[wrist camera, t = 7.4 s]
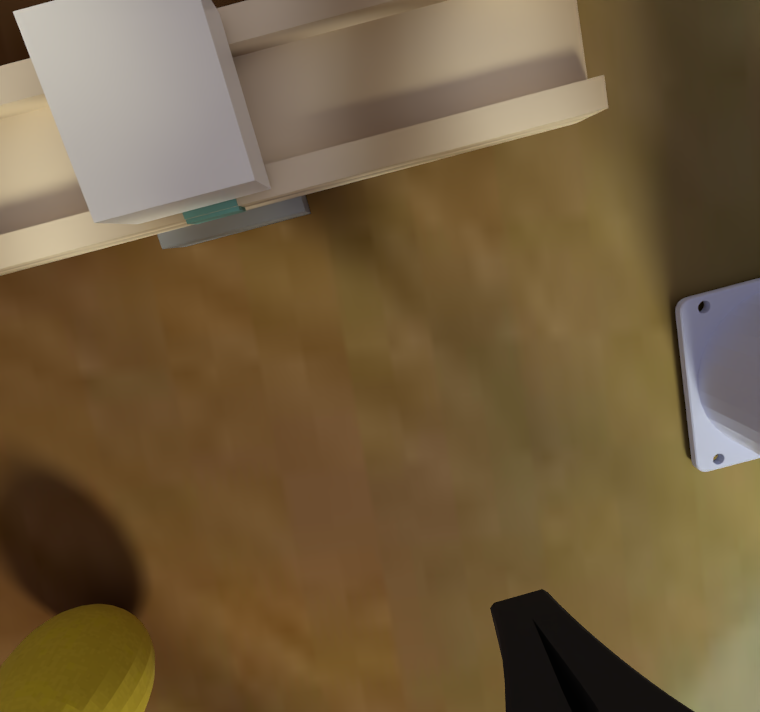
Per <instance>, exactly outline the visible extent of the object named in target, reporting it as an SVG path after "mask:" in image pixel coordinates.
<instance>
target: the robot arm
mask: <svg viewBox="0 0 760 712" xmlns="http://www.w3.org/2000/svg"><path fill="white" fill-rule="evenodd" d="M702 301H703V303H704V307H703V309H702V310H701V311H699V310H698V305H699V304H700V302H702ZM675 314H676V323H677V332H678V342H679V351H680V360H681V369H682V378H683V387H684V396H685V405H686V414H687V423H688V433H689V442H690V451H691V460H692V464H693V465H694V466H695V467H696V468H697V469H699V470H700V471H703V472H707V471H711V470H715V469H719V468H723V467H727V466H731V465H734V464H738V463H742V462H746V461H750V460H754V459H757V458H760V278H757V279H753V280H749V281H746V282H742V283H738V284H734V285H730V286H727V287H723V288H719V289H715V290H711V291H708V292H704V293H700V294H696V295H692V296H689V297H685V298H683V299H681V300H680V301H679V302H678V303H677V306H676V309H675ZM717 454H718V457H717V458H716V459H715V460H713V458H714V456H715V455H717ZM490 609H491V613H492V617H493V622H494V626H495V630H496V634H497V638H498V642H499V647H500V651H501V655H502V659H503V668H504V678H505V700H506V712H694V711H692V710H691V709H689V708H688V707H686V706H685V705H683V704H682V703H680V702H679V701H677V700H676V699H674V698H673V697H671V696H670V695H668V694H667V693H666V692H664V691H663V690H661V689H660V688H658V687H657V686H656V685H654V684H653V683H652V682H650V681H649V680H648V679H646V678H645V677H644V676H642V675H641V674H640V673H638V672H637V671H636V670H634V669H633V668H632V667H630V666H629V665H628V664H627V663H625V662H624V661H623V660H622V659H620V658H619V657H618V656H617V655H615V654H614V653H613V652H612V651H611V650H609V649H608V648H607V647H606V646H605V645H603V644H602V643H601V642H600V641H599V640H598V639H596V638H595V637H594V636H593V635H592V634H591V633H589V632H588V631H587V630H586V629H585V628H584V627H583V626H582V625H581V624H579V623H578V622H577V621H576V620H575V619H574V618H573V617H572V616H571V615H570V614H569V613H568V612H567V611H566V610H565V609H564V608H562V607H561V606H560V605H559V604H558V603H557V602H556V601H555V599H554V598H553V597H552V596H551V595H550V594H549V593H548V592H546V591H545V590H543V589H542V590H538V591H535V592H531V593H527V594H524V595H520V596H517V597H513V598H510V599H506V600H503V601H499V602H496V603H494V604H493V605H492V606H491V608H490Z"/></svg>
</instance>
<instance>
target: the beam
mask: <svg viewBox="0 0 760 712" xmlns="http://www.w3.org/2000/svg"><path fill="white" fill-rule="evenodd" d="M216 9H217V10H218V12H219V14H220V17H221V20H222V24H223V27H224V31H225V34H226V37H227V41H228V44H229V48H230V51H231V54H232V58H233V61H234V64H235V68H236V71H237V75H238V78H239V81H240V85H241V88H242V92H243V95H244V98H245V102H246V105H247V109H248V112H249V115H250V119H251V122H252V126H253V129H254V132H255V136H256V139H257V142H258V146H259V149H260V153H261V156H262V159H263V163H264V166H265V170H266V173H267V176H268V180H269V183H270V187H271V189H269V190H266V191H262V192H258V193H254V194H251V195H247V196H243V197H239V198H235V199H232V200H228V201H224V202H220V203H217V204H213V205H209V206H205V207H201V208H198V209H194V210H190V211H186V212H183V213H179V214H175V215H171V216H167V217H164V218H160V219H156V220H152V221H149V222H145V223H141V224H110V223H94V221H93V219H92V216H91V214H90V211H89V208H88V206H87V203H86V201H85V198H84V196H83V193H82V190H81V188H80V185H79V183H78V180H77V177H76V175H75V172H74V170H73V167H72V164H71V162H70V159H69V157H68V154H67V151H66V149H65V146H64V144H63V141H62V138H61V136H60V133H59V131H58V128H57V125H56V123H55V120H54V118H53V115H52V112H51V110H50V107H49V105H48V102H47V99H46V97H45V94H44V92H43V89H42V86H41V84H40V81H39V79H38V76H37V73H36V71H35V68H34V66H33V63H32V60H31V58H28V59H25V60H21V61H17V62H13V63H10V64H6V65H2V66H0V276H1V275H5V274H9V273H12V272H16V271H20V270H24V269H27V268H31V267H35V266H39V265H43V264H46V263H50V262H54V261H58V260H61V259H65V258H69V257H73V256H77V255H80V254H84V253H88V252H92V251H95V250H99V249H103V248H107V247H111V246H114V245H118V244H122V243H126V242H129V241H133V240H137V239H141V238H145V237H148V236H152V235H156V234H157V235H158V238H159V241H160V244H161V247H162V249H167V248H177V247H186V246H190V245H194V244H198V243H201V242H205V241H209V240H213V239H217V238H220V237H224V236H228V235H232V234H235V233H239V232H243V231H247V230H251V229H254V228H258V227H262V226H266V225H270V224H273V223H277V222H281V221H285V220H288V219H292V218H296V217H300V216H304V215H307V214H311V212H310V209H309V205H308V202H307V198H306V195H307V194H311V193H315V192H318V191H322V190H326V189H330V188H334V187H337V186H341V185H345V184H349V183H352V182H356V181H360V180H364V179H368V178H371V177H375V176H379V175H383V174H386V173H390V172H394V171H398V170H402V169H405V168H409V167H413V166H417V165H420V164H424V163H428V162H432V161H436V160H439V159H443V158H447V157H451V156H454V155H458V154H462V153H466V152H470V151H473V150H477V149H481V148H485V147H488V146H492V145H496V144H500V143H504V142H507V141H511V140H515V139H519V138H522V137H526V136H530V135H534V134H538V133H541V132H545V131H549V130H553V129H556V128H560V127H564V126H568V125H572V124H575V123H578V122H580V121H582V120H584V119H586V118H588V117H590V116H592V115H594V114H597V113H599V112H601V111H603V110H605V109H607V108H608V101H607V94H606V86H605V78H604V75H602V76H598V77H594V78H590V79H587V72H586V65H585V57H584V50H583V43H582V36H581V28H580V21H579V14H578V7H577V0H246V1H242V2H239V3H235V4H231V5H227V6H224V7H220V8H216Z"/></svg>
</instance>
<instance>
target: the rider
mask: <svg viewBox="0 0 760 712" xmlns="http://www.w3.org/2000/svg"><path fill="white" fill-rule="evenodd" d="M13 14H14V16H15V19H16V21H17V24H18V27H19V29H20V32H21V34H22V37H23V40H24V42H25V45H26V47H27V50H28V53H29V55H30V58H31V60H32V63H33V66H34V68H35V71H36V73H37V76H38V79H39V81H40V84H41V86H42V89H43V92H44V94H45V97H46V99H47V102H48V105H49V107H50V110H51V112H52V115H53V118H54V120H55V123H56V125H57V128H58V131H59V133H60V136H61V138H62V141H63V144H64V146H65V149H66V151H67V154H68V157H69V159H70V162H71V164H72V167H73V170H74V172H75V175H76V177H77V180H78V183H79V185H80V188H81V190H82V193H83V196H84V198H85V201H86V203H87V206H88V208H89V211H90V214H91V216H92V219H93V221H94V223H110V224H141V223H145V222H149V221H152V220H156V219H160V218H164V217H167V216H171V215H175V214H179V213H183V212H186V211H190V210H194V209H198V208H201V207H205V206H209V205H213V204H217V203H220V202H224V201H228V200H232V199H235V198H239V197H243V196H247V195H251V194H254V193H258V192H262V191H266V190H269V189H271V187H270V183H269V180H268V176H267V173H266V170H265V166H264V163H263V159H262V156H261V153H260V149H259V146H258V142H257V139H256V136H255V132H254V129H253V126H252V122H251V119H250V115H249V112H248V109H247V105H246V102H245V98H244V95H243V92H242V88H241V85H240V81H239V78H238V75H237V71H236V68H235V64H234V61H233V58H232V54H231V51H230V48H229V44H228V41H227V37H226V34H225V31H224V27H223V24H222V20H221V17H220V14H219V12H218V10H217V9H216V7H215V5H214V4H213V2H212V0H54V1H50V2H46V3H43V4H39V5H35V6H31V7H28V8H24V9H20V10H16V11H13Z"/></svg>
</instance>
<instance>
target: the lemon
mask: <svg viewBox="0 0 760 712" xmlns="http://www.w3.org/2000/svg"><path fill="white" fill-rule="evenodd" d="M154 674H155V652H154V648H153V644H152V641H151V638H150V635H149V633H148V631H147V630H146V628H145V627H144V625H143V623H142V622H141V621H140V620H139V619H137V618H136V617H135V616H134V615H133V614H131V613H130V612H128V611H126V610H124V609H122V608H119V607H116V606H113V605H106V604H91V605H83V606H79V607H76V608H73V609H70V610H67V611H64V612H62V613H60V614H58V615H56V616H54V617H53V618H51V619H50V620H48V621H46V622H45V623H43V624H42V625H40V626H39V627H38V628H36V629H35V630H34V631H32V632H31V633H30V634H29V635H28V636H27V637H26V638H25V639H24V640H23V641H22V642H21V643H20V644H19V645H18V646H17V647H16V649H15V650H14V651H13V652H12V653H11V654H10V655H9V656H8V658H7V659H6V660H5V661H4V662H3V664H2V665H1V667H0V712H144V711H145V708H146V705H147V703H148V700H149V697H150V694H151V691H152V687H153V682H154Z"/></svg>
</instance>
